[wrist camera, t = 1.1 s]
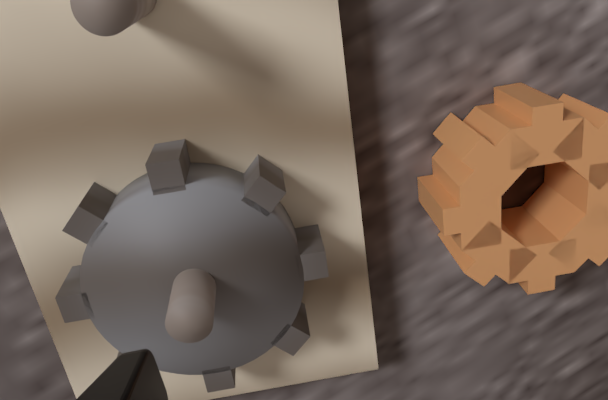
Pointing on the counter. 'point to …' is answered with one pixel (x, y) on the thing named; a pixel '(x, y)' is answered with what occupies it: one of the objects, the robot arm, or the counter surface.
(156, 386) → the robot arm
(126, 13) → the gear board
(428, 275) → the counter surface
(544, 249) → the orange gear
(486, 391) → the counter surface
